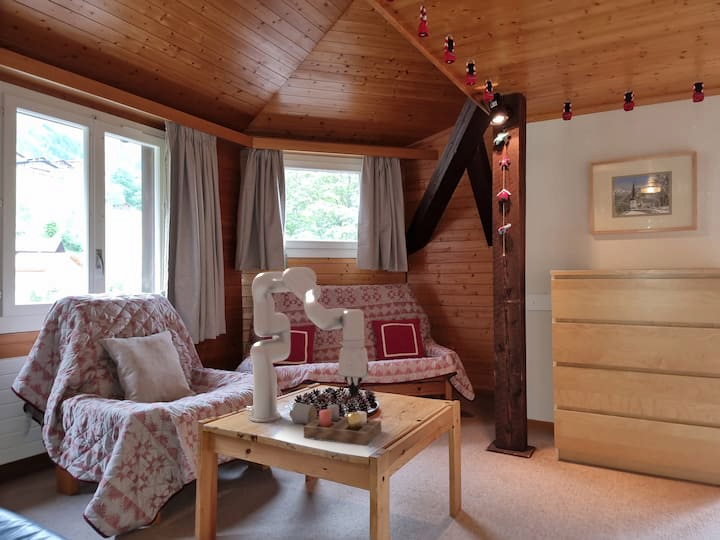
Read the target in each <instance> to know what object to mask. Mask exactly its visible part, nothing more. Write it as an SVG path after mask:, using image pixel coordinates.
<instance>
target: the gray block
mask: <svg viewBox="0 0 720 540" xmlns="http://www.w3.org/2000/svg"><path fill="white" fill-rule="evenodd" d="M326 409H328V410H331V411H332V422H336V421H339V417H340V405H338V404H330V405H329V404H328V405H327V406H326Z"/></svg>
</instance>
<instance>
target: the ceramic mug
mask: <svg viewBox="0 0 720 540" xmlns="http://www.w3.org/2000/svg"><path fill="white" fill-rule="evenodd" d="M290 415H291V420H292V422H293V423H295V424H303V425H307V424H309V423H310V422H312V421H313V420H315V419H316V418H318V410H317V407H316V406H314V405H312V404H306V403H301V402H296V403H295V404H294V405H293V407H292V410H291V414H290Z"/></svg>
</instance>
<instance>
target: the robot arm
mask: <svg viewBox="0 0 720 540" xmlns="http://www.w3.org/2000/svg"><path fill="white" fill-rule="evenodd" d="M291 292H292V293H293V294H294V295H295V296H296V297H297V298H298V300H300V301H301V302H302V303H303V309H304V312H305V315H306V317H307V318H308V319H309V320H310V321H311V322H312V323H313V324H314V325H315V326H316V327H317V328H319V329H321V330H323V331H330V330H338V329H342V339H341V340H339V344H340V345H342V346H341V348H340V351H339V357H338V366H337V367H338V368H337V369H338V370H337V371H338V375H339V377H338V378H339V379H342V380H343V381H344V380H345V382H346V383H347V385H348V386H349V389H348V390H349V392H348V393H349V394H350V395H349V396H350V397H354V398H356V397H357V396H358V395H359V392H360V391H359V390H360V389H359V386H360V384H361V383H362V382H364V381H367V380H369V378H370V377H369V358H368V351H367V349H366V347H365V315H364V311H363V310H362V309H359V308H358V309H357V308H353V309H352V308H351V309H349V308H345V307H336V308H334V307H333V308H325V307H324V306H323V305H322V304H321V303H320V302H319V298H320V297H321V294H322V289H321V286H319V285H317V274H316V272H315V271H314V270H313V269H312V268H310V267H308V266H307V267H306V266H302V267H300V266H298V267H297V266H294V267H289V268H287V269H285V271H266V272H261V273H258V274H257V275H256V276H255V277H254V278H253V280H252V284H251V294H252V295H251V296H252V301H253V331H254V334H255V335H256V336H257V337H259V338H260V337H261V338H267V337H272V338H271V339H270V338H269V339H263V340H259V341H257V342H256V341H255V343H253V345H251V348H250V350H249V351H250V353H249V354H250V360H251V365H252V381H253V382H252V386H253V387H252V397H253V398H252V402H253V403H252V405H246V407H245V412H246V413H250V415H249V417H248V418H249V420H250V421H251V422H256V423H270V422H273V421H277V420H279V419H281V415H282V414H281V413H280V412H278V398H277V397H278V393H277V392H278V389H277V388H278V386H277V385H278V383H277V382H278V379H277V377H278V376H277V371H276V368H275V367H274V366H275V365H274V363H277V362H282V361H285V360H287V359H288V358H289V356H290V355H291V347H292V346H291V342H292V341H291V322H290V320H289V317H288V316H287V315H286V314H285V313H283V312H276V309H275V308H276V304H275V299H274V298H273V296H272V294H273V293H274V294H275V293H291Z"/></svg>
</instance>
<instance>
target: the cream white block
mask: <svg viewBox="0 0 720 540" xmlns="http://www.w3.org/2000/svg"><path fill="white" fill-rule="evenodd" d="M356 412H358V413H360V425H366V424H367V417H368V416H367V413H368V412H366V411H362V410H361V411H360V410H359V411H356Z"/></svg>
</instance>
